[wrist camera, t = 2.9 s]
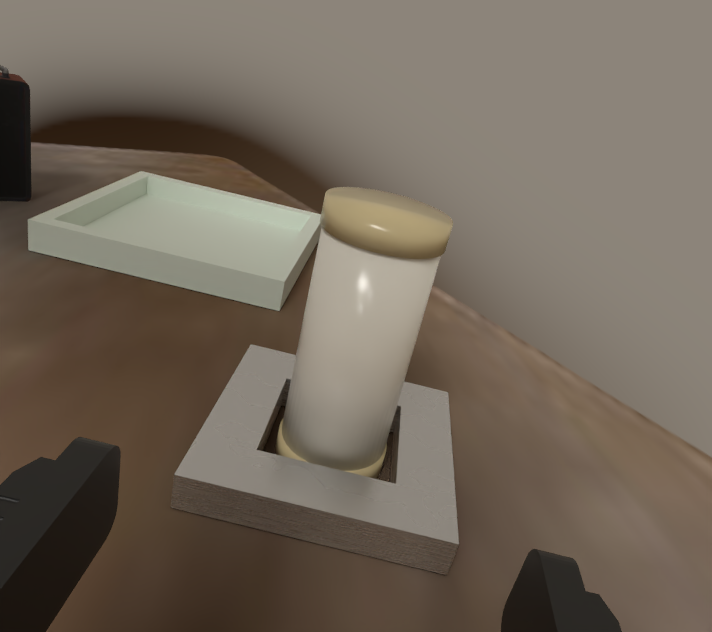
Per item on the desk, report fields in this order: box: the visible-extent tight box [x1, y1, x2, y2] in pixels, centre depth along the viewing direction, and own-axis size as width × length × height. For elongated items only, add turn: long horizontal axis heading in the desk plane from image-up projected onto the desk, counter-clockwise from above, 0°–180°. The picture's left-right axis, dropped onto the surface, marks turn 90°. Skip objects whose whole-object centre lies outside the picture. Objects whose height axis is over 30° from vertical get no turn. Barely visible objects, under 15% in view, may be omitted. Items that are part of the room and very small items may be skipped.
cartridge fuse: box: [275, 187, 453, 479], centre depth 23 cm, size 5×5×11 cm
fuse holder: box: [171, 344, 459, 575], centre depth 25 cm, size 10×10×2 cm
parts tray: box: [28, 171, 322, 311], centre depth 44 cm, size 16×16×2 cm
